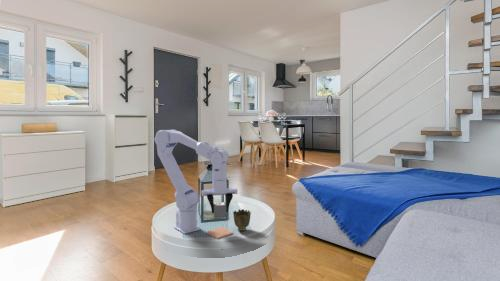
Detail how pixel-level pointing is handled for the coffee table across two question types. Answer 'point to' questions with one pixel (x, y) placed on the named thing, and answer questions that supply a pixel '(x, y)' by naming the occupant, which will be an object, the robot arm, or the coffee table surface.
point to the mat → (219, 232)
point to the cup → (242, 219)
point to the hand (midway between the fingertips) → (219, 212)
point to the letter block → (219, 210)
